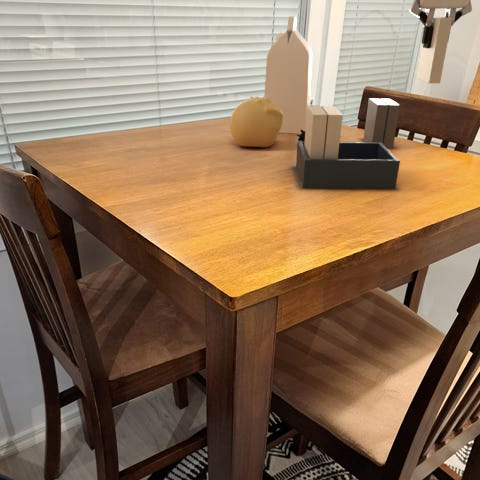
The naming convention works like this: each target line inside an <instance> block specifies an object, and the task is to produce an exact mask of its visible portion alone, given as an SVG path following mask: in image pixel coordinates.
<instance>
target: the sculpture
mask: <svg viewBox="0 0 480 480" xmlns="http://www.w3.org/2000/svg"><path fill="white" fill-rule="evenodd" d="M282 119H283V113H282V111H281V110H280V109H279V108H278V107H276V105H274V104H273V103H272V102H271V100H270V99H268V98H265V97H264V96H263V97H259V96H250V97H249V98H248V99H246V100H243V101H241V102H240V103H238V104H237V105H236V106H235V108H234V109H233V111H232V113H231V115H230V122H229V129H230V134H231V137H232V139H233V141H234V143H235V144H236V145H238V146H241V147H248V148H249V147H252V148H269V147H271V146H272V145H273V144H274V143H275V141H276V140H277V139H278V135H279V134H280V133H279V130H280V129H281V126H282Z"/></svg>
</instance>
